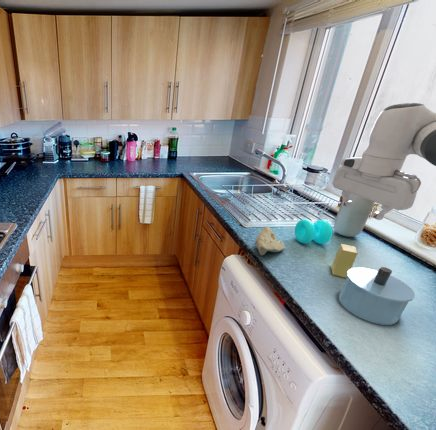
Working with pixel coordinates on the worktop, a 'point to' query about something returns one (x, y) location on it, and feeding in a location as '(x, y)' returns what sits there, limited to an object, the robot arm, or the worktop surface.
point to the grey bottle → (353, 216)
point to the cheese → (268, 241)
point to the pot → (370, 305)
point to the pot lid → (380, 284)
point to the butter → (343, 260)
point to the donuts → (313, 231)
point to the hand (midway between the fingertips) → (360, 212)
